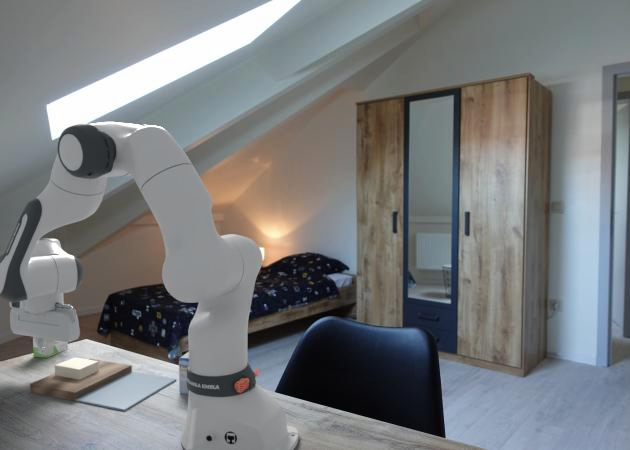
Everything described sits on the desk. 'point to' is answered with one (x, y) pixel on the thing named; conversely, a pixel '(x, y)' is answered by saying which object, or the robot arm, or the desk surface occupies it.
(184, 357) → the medicine box
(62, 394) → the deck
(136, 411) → the desk surface
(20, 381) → the desk surface
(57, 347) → the ink box
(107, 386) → the mat
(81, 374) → the tile
